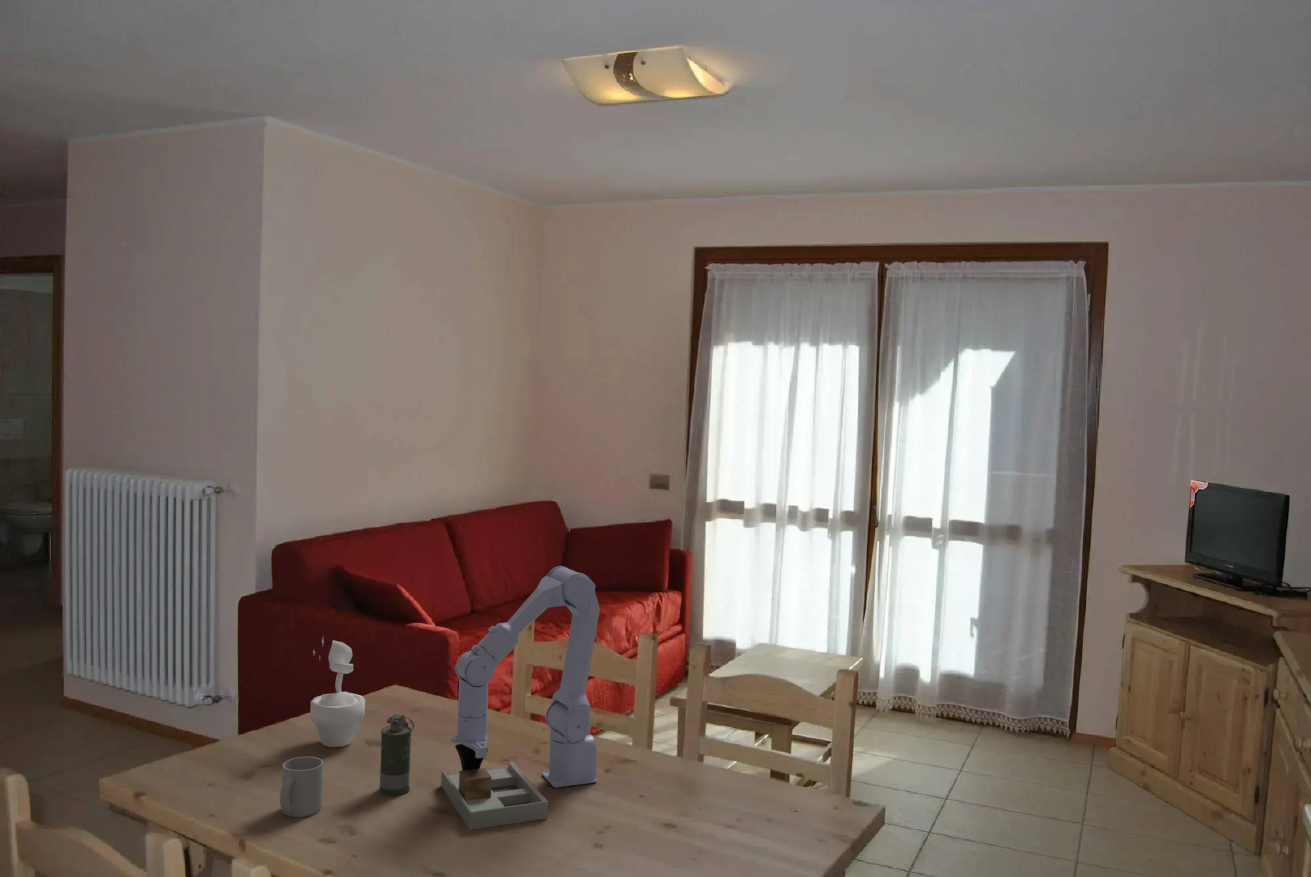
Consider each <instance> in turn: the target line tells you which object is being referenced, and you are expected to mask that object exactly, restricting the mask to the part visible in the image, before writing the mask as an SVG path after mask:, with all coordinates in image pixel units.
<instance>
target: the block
mask: <svg viewBox="0 0 1311 877" xmlns="http://www.w3.org/2000/svg"><path fill="white" fill-rule="evenodd" d="M458 774H459V792H460V794H461V795H462V797H463V798H464V800H465V801H468V800H475V799H482V798H490V797H491V780H492V777H491V776H490V774H489V773H488V772H487V769H486V768H485V767H482V768H481V767H480V768H479V769H471V770H463V771H462V770H459V772H458Z"/></svg>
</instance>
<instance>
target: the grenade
mask: <svg viewBox="0 0 1311 877" xmlns="http://www.w3.org/2000/svg"><path fill="white" fill-rule="evenodd" d="M406 719H408V720H409V722H410V723H411V724H412V728H411V727H410V726H409V724H408V722H407V721H406ZM386 723H388V724H390V725H388V726H385V727H383V728H382V729H381V730H380V734H381V737H380V738H381V741H380V742H381V744H380V745H381V746H380V771H379V772H380V773H379V774H380V776H379V777H380V778H379V789H378V792H379V794H380V795H383V796H387V797H398V796H402V795H406V794H407V793H409V792H410V790H411V788H410V773H411V770H410V768H411V746H412V745H411V743H412V742H411V740H412V732H413V730H414V729H415V724H414V722H413V720H412V719H411V718H409V717H407V716H406V717H405V715H404V714H399V713H398V714H397V713H394V714H392V715H391V716H389V717H388V719H386Z"/></svg>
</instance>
